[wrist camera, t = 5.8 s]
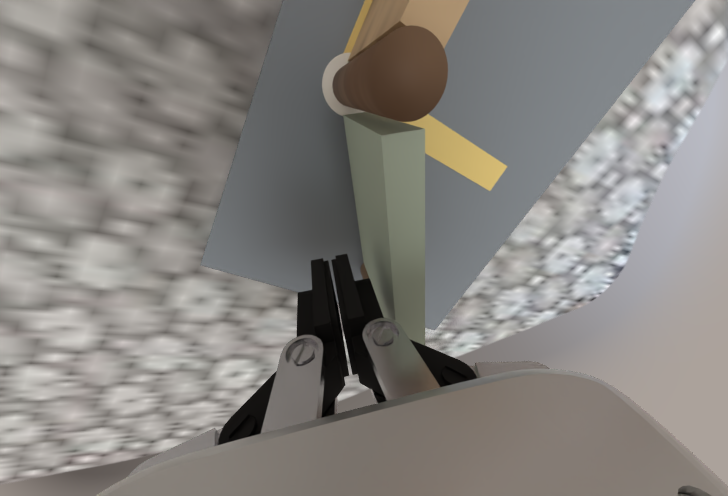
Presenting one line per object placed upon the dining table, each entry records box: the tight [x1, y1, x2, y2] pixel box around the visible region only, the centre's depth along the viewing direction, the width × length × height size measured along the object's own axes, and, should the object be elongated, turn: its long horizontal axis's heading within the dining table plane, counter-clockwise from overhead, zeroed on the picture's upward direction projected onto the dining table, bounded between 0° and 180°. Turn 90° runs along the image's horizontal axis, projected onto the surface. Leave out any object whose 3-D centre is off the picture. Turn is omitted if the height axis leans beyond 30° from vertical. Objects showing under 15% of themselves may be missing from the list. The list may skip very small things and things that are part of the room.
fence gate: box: [343, 112, 425, 345], centre depth 13 cm, size 11×2×9 cm, turn 7°
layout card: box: [201, 0, 695, 330], centre depth 16 cm, size 26×19×1 cm
